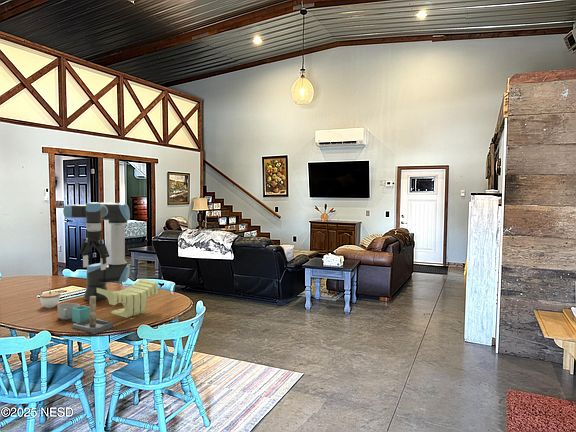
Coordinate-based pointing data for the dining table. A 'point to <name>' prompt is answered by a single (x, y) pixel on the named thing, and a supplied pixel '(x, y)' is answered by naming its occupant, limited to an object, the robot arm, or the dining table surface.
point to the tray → (99, 327)
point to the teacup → (66, 310)
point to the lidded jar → (50, 299)
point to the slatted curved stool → (131, 297)
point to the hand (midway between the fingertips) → (94, 268)
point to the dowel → (92, 311)
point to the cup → (80, 313)
